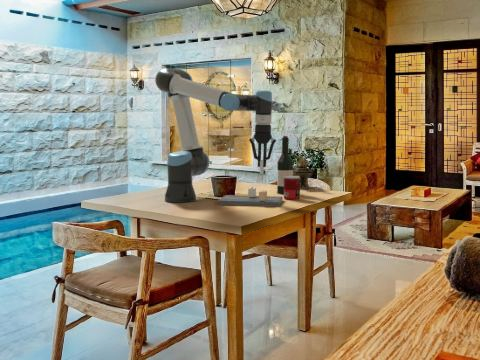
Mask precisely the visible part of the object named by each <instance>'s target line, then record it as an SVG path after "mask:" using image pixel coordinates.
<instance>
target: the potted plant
mask: <svg viewBox="0 0 480 360" xmlns="http://www.w3.org/2000/svg"><path fill="white" fill-rule="evenodd" d="M293 155H294V156H295V157H297V158H298V160H297V161H296V165H293V176H299V177H300V190H309V189H311V188H310V185H309V182H308V181H309V177H310V176H311V175H312V173H313V171H312V170H311V169H310V168H309V167H307V166H308V163H307V162H308V161H307V159H306V158H307V156H308V155H307V154H306V155H305V157H303V156H302V155H300V156H299V155H296V152H293Z"/></svg>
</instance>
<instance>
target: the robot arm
mask: <svg viewBox="0 0 480 360" xmlns="http://www.w3.org/2000/svg"><path fill="white" fill-rule="evenodd" d="M154 82H155V85H156V87H157V88H158V90H160V91H161V92H164V93H167V97H168V100H170V101H171V102H172V105H173V110H174V115H175V119H176V125H177V129H178V134H179V138H180V143H181V144H180V145H181V149H180V150H179V151H173V152H171V153H169V154H168V155H167V161H166V163H167V187H166V191H165V194H164V201H165V202H168V203H190V202H194V201H196V200H197V194H196V192H195V188H194V186H193V177H196V176H201V175H203V174H205V173H206V172H207V171H208V169H209V168H210V158H209V156H208V154H206V153H205V152H204V147H203V146H202V145H200V143H199V139H198V134H197V133H198V132H197V129H196V124H195V120H194V115H193V110H192V104H191V100H190V98H192V99H194V100H198V101H200V102H204V103H207V104H209V105H213V106H216V107H220V108H221V109H223V110H225V111H228V112H233V111H234V112H255V117H254V119H255V120H254V121H255V122H254V123H255V125H254V135H253V136H252V137H251V138H249V140H248V141H249V143H250V144H251V149H252V155H253V158H254V159H255V160H257V168H259V175H264V174H265V173H264V170H265V168H266V166H267V160H271V156H272V153H273V149H274V145H275V144H276V142H277V139H276V138H273V135H272V125H271V124H272V107H273V93H272V91H270V90H256V92H255V94H240V93H239V94H237V93H232V92H229V91H225V90H222V89H219V88H215V87H212V86H209V85H207V84H203V83H200V82H196V81H194V79H193V78H192V76H191V74H190V73H189V72H188V71H185V70H183V69H174V68H168V67H167V68H161V70H159V71H158V72H157V73H156V75H155V80H154ZM255 142H256V143H257V149H256V144H255ZM269 142H270V143H271V144H270V145H269V149H268V148H267V146H268V143H269ZM262 144H263V154H262ZM267 149H268V150H267ZM267 151H268V152H267ZM267 153H268V154H267ZM262 155H263V157H262Z"/></svg>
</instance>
